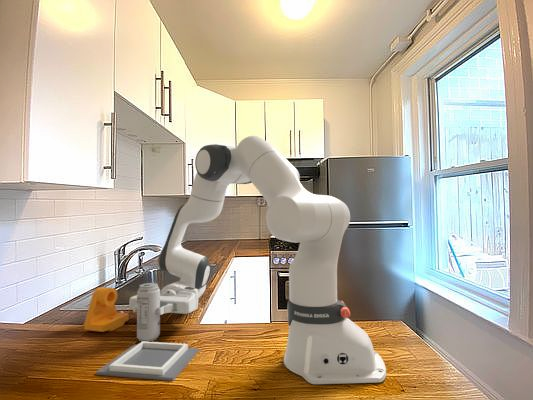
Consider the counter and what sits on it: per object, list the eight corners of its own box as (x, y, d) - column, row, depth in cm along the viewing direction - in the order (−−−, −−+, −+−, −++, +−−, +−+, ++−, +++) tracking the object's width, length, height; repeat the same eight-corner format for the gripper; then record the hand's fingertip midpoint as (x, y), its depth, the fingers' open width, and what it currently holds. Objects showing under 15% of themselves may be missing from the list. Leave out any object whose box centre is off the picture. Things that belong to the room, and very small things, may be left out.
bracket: (103, 334, 88) (104, 293, 89) (84, 332, 90) (84, 291, 91) (129, 321, 98) (130, 284, 99) (111, 320, 100) (112, 283, 101)
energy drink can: (163, 338, 84) (163, 284, 85) (142, 345, 80) (142, 288, 81) (154, 332, 89) (154, 281, 89) (133, 339, 84) (133, 284, 85)
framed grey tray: (199, 350, 77) (199, 343, 77) (173, 380, 63) (173, 372, 63) (134, 346, 80) (134, 339, 80) (96, 374, 66) (96, 366, 66)
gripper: (146, 286, 100) (115, 297, 87) (202, 289, 95) (178, 301, 81) (146, 305, 100) (115, 319, 86) (202, 309, 95) (178, 325, 81)
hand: (146, 310), depth 84 cm, fingers closed on energy drink can, 6 cm apart
